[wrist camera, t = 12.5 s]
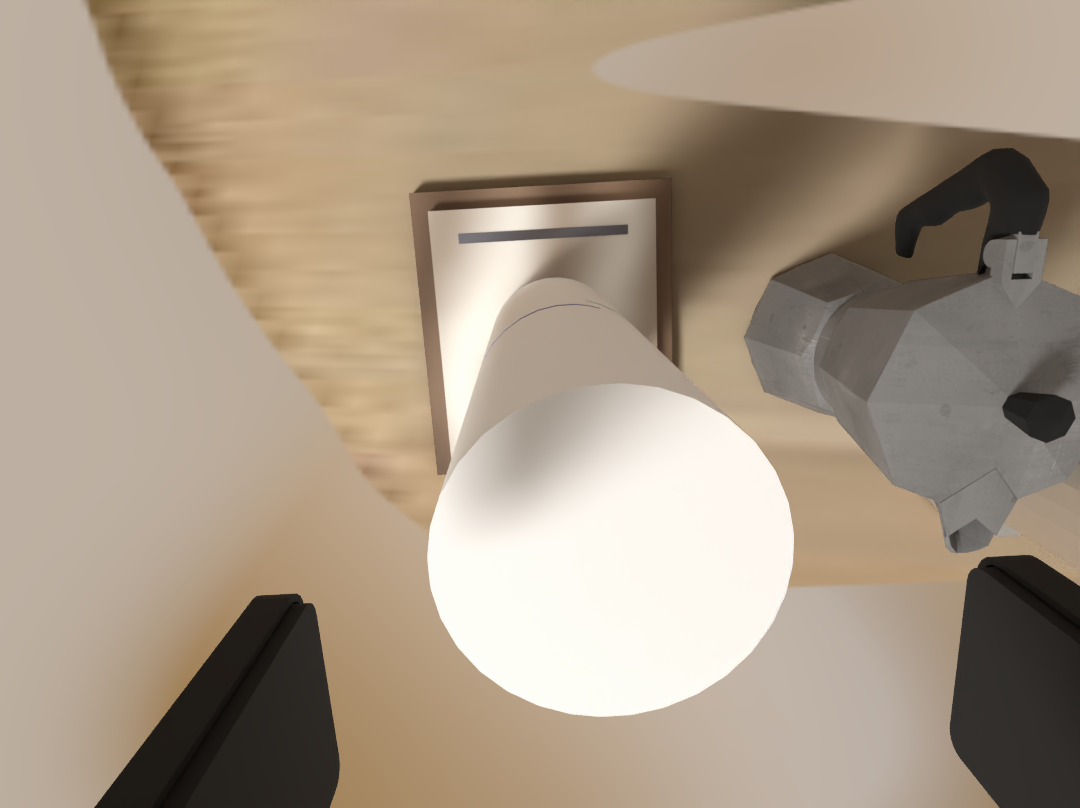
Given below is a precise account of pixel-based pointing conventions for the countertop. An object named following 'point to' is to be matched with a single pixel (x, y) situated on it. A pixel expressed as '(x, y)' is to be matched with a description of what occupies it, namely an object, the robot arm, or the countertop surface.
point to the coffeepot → (941, 355)
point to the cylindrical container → (602, 517)
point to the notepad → (531, 270)
